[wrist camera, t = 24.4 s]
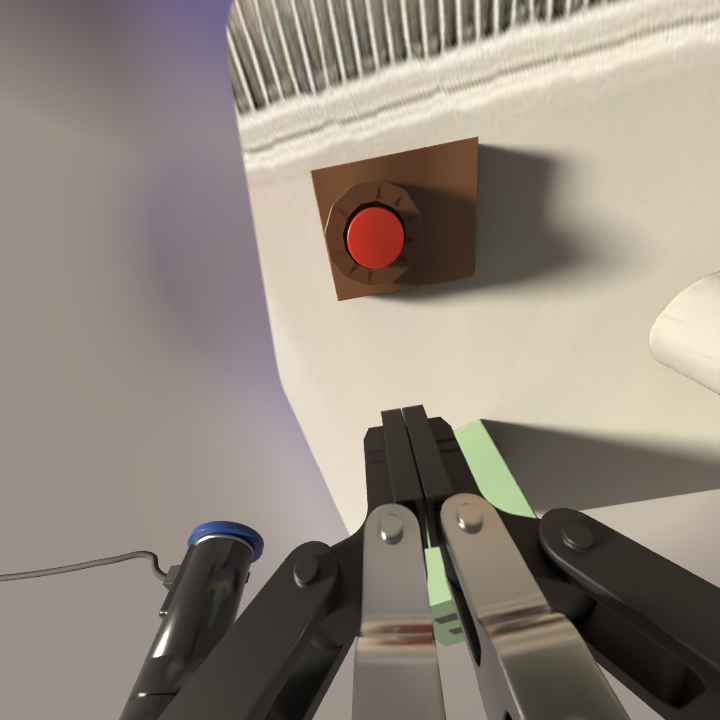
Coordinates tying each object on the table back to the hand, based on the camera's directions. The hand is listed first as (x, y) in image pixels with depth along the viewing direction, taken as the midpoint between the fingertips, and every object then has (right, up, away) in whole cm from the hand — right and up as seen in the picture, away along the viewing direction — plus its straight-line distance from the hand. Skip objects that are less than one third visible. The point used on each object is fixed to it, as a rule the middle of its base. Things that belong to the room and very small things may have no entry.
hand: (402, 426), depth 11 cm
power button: (-1, +11, +9) cm, 14 cm away
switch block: (+1, +13, +12) cm, 18 cm away
